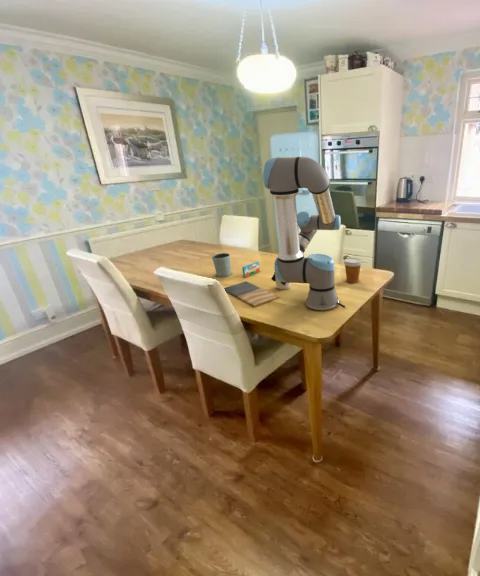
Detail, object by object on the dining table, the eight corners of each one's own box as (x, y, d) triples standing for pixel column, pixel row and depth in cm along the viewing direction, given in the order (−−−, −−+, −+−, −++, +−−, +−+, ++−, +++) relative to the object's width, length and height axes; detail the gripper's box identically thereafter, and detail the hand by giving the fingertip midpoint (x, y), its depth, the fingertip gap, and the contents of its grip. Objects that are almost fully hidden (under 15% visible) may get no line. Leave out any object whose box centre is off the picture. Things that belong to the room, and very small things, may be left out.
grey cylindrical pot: (234, 271, 196) (232, 253, 191) (228, 277, 187) (226, 258, 182) (219, 271, 197) (216, 253, 192) (212, 277, 188) (209, 258, 183)
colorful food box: (258, 271, 196) (257, 261, 194) (259, 271, 195) (258, 261, 193) (243, 276, 187) (242, 266, 185) (245, 277, 186) (243, 267, 184)
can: (288, 290, 166) (286, 268, 162) (274, 289, 168) (272, 268, 163) (292, 285, 173) (290, 264, 168) (278, 284, 174) (277, 263, 170)
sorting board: (278, 297, 158) (278, 296, 158) (254, 307, 149) (254, 305, 149) (246, 282, 178) (246, 281, 178) (223, 290, 169) (223, 288, 169)
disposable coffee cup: (364, 280, 176) (365, 259, 172) (354, 285, 170) (354, 264, 166) (351, 276, 183) (351, 256, 178) (340, 281, 176) (340, 260, 172)
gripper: (316, 253, 166) (294, 290, 162) (291, 246, 180) (270, 280, 176) (308, 245, 161) (285, 283, 157) (283, 239, 175) (261, 274, 171)
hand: (277, 282), depth 167 cm, fingers closed on can, 7 cm apart
